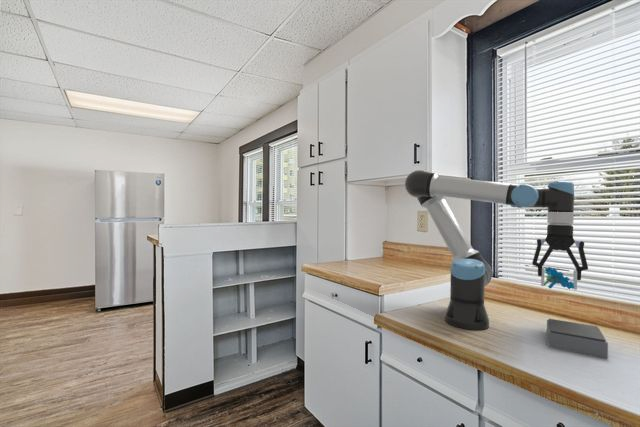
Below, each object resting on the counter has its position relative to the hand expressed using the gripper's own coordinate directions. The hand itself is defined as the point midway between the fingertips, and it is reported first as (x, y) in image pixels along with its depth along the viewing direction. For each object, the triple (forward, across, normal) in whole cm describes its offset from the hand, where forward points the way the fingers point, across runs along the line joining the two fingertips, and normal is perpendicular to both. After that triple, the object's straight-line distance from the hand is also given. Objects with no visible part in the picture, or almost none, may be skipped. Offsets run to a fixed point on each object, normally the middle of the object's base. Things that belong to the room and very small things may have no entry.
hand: (558, 287), depth 117 cm
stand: (+15, -3, +13) cm, 20 cm away
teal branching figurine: (+1, 0, 0) cm, 1 cm away
